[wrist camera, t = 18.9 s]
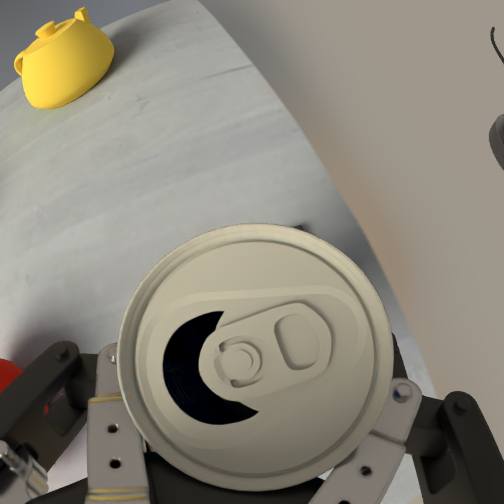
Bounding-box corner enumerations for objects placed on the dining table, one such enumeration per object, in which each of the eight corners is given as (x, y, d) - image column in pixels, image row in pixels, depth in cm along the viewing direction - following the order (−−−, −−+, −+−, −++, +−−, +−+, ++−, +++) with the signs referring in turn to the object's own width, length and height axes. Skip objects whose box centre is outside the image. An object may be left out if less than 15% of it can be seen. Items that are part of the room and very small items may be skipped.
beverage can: (201, 332, 18) (81, 261, 7) (303, 296, 18) (335, 170, 7) (235, 434, 15) (154, 527, 4) (342, 396, 15) (449, 432, 4)
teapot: (96, 101, 35) (57, 33, 23) (14, 128, 37) (-24, 81, 25) (137, 34, 42) (117, -20, 30) (60, 60, 44) (36, 17, 32)
